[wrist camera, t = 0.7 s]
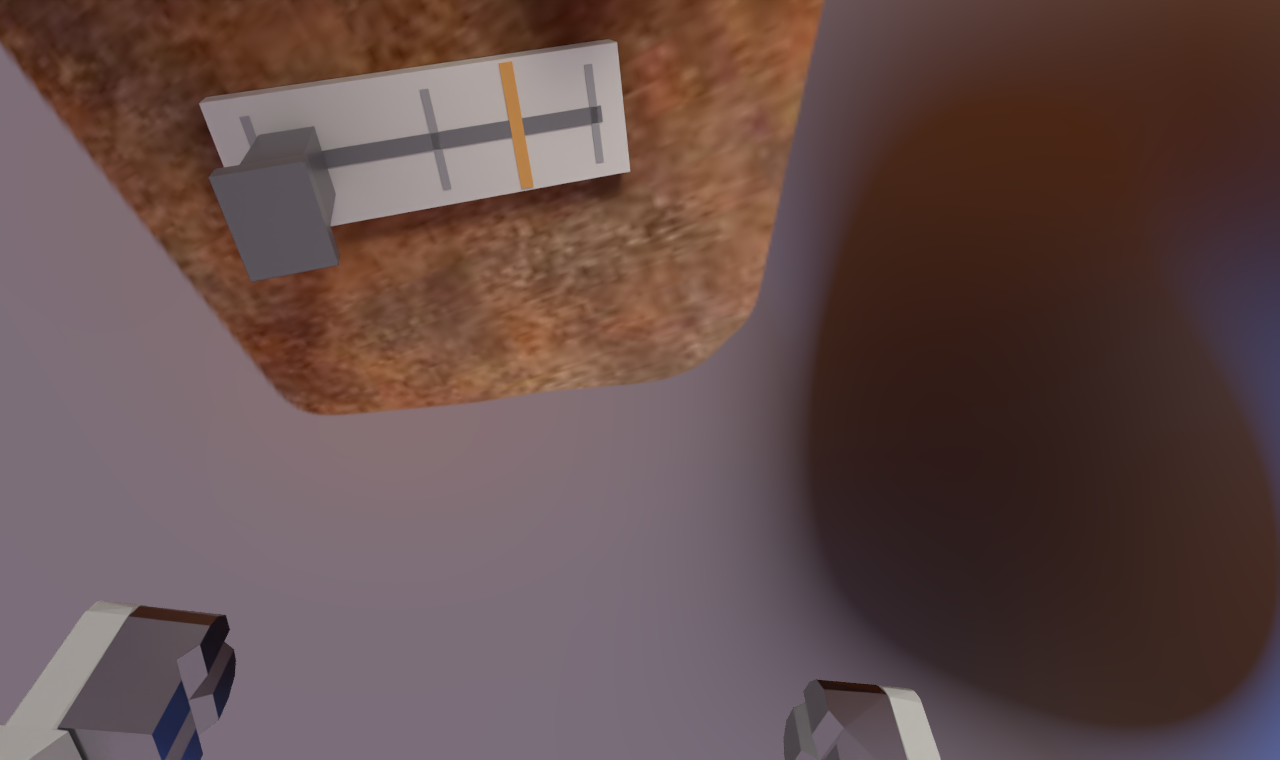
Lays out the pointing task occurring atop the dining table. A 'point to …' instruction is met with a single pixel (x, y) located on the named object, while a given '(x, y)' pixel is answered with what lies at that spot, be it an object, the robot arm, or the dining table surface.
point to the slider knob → (280, 205)
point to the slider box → (445, 127)
